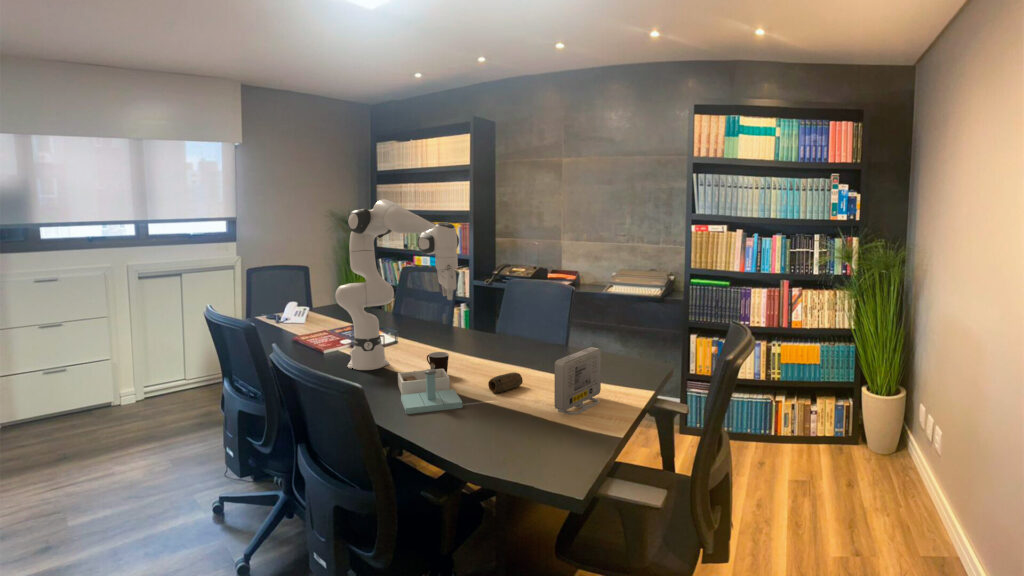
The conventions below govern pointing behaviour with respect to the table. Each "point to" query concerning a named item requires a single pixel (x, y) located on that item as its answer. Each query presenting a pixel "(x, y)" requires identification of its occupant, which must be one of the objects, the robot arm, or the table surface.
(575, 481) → the table surface
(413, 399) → the lid
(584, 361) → the network device
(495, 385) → the hollow wooden cylinder
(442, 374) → the tub
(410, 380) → the walnut block
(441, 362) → the coffee mug
